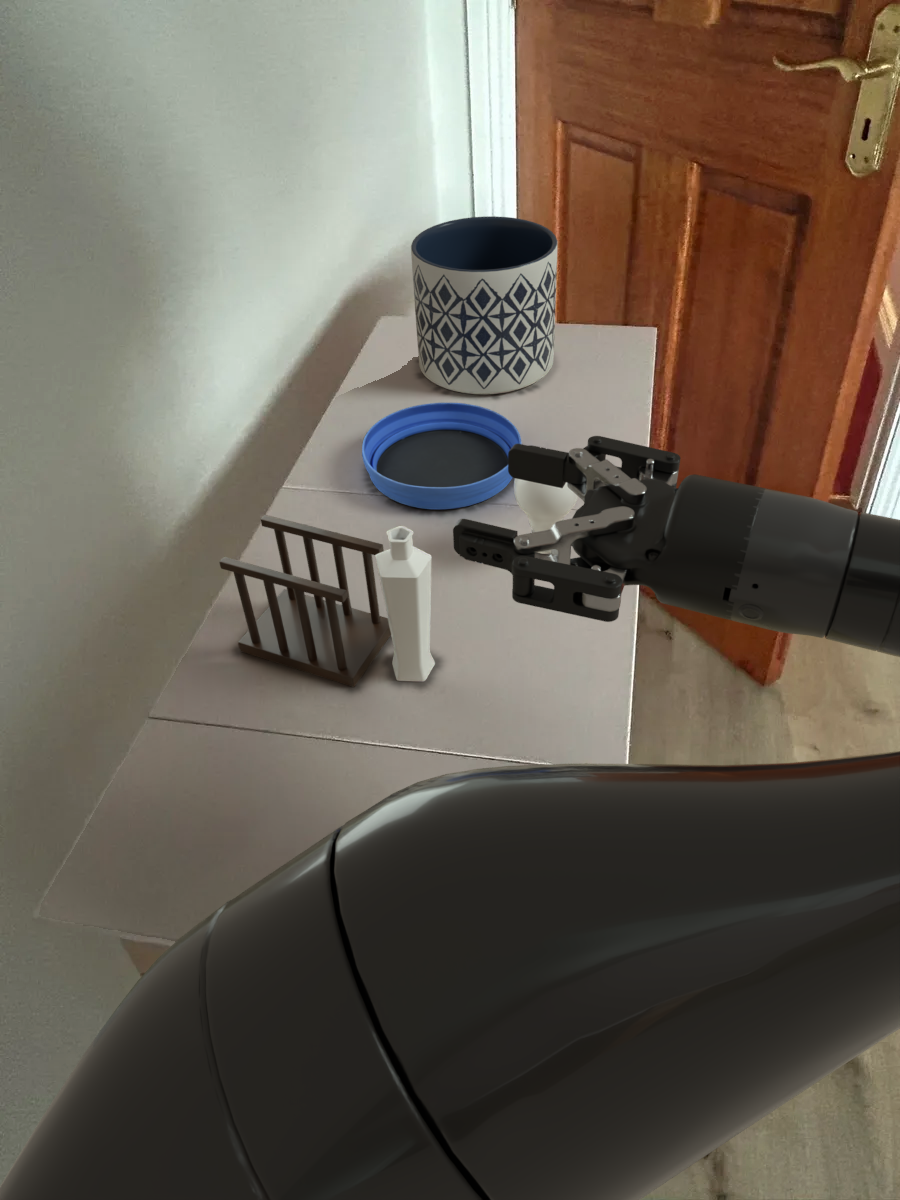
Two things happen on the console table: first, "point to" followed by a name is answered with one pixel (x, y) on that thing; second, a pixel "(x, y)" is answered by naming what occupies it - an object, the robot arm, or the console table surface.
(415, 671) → the perfume bottle
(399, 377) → the console table surface
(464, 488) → the bowl
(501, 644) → the console table surface
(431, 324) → the planter
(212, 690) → the console table surface
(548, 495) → the lightbulb
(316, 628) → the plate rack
